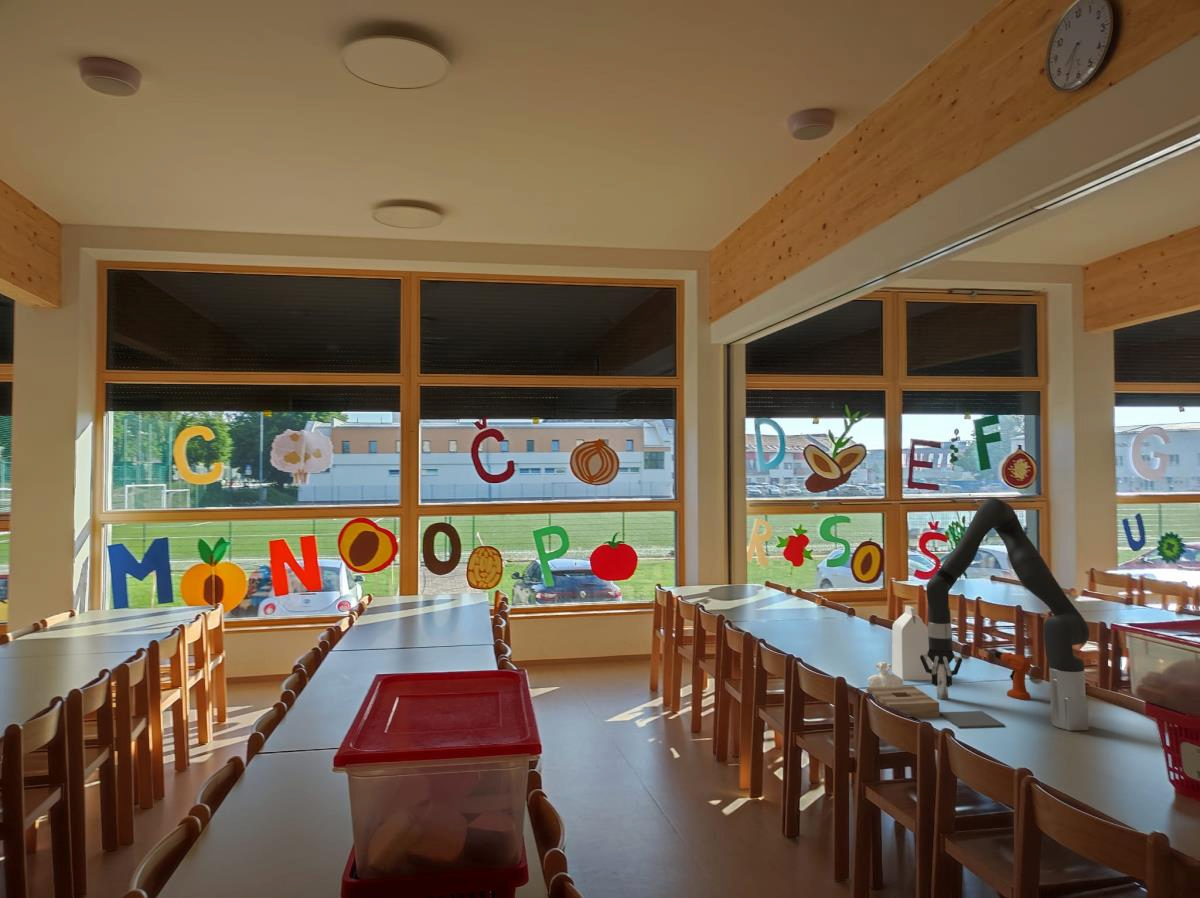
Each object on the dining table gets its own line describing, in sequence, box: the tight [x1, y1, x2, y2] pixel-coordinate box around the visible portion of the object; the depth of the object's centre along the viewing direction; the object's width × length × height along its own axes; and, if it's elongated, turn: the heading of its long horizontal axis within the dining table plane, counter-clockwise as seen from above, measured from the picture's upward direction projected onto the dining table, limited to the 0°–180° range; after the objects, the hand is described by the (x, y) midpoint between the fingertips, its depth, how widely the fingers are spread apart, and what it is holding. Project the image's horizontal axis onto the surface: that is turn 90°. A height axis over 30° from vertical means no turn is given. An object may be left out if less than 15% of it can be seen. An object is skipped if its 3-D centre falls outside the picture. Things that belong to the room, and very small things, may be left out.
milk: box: [891, 605, 933, 681], centre depth 300 cm, size 12×12×26 cm
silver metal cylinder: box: [935, 663, 949, 701], centre depth 269 cm, size 4×4×12 cm
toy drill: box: [983, 648, 1032, 701], centre depth 273 cm, size 5×19×15 cm, turn 22°
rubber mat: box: [939, 710, 1006, 729], centre depth 245 cm, size 14×14×1 cm
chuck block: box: [866, 685, 941, 719], centre depth 259 cm, size 20×16×4 cm
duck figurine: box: [867, 661, 904, 687], centre depth 280 cm, size 12×8×11 cm
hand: (942, 685), depth 269 cm, fingers closed on silver metal cylinder, 3 cm apart
